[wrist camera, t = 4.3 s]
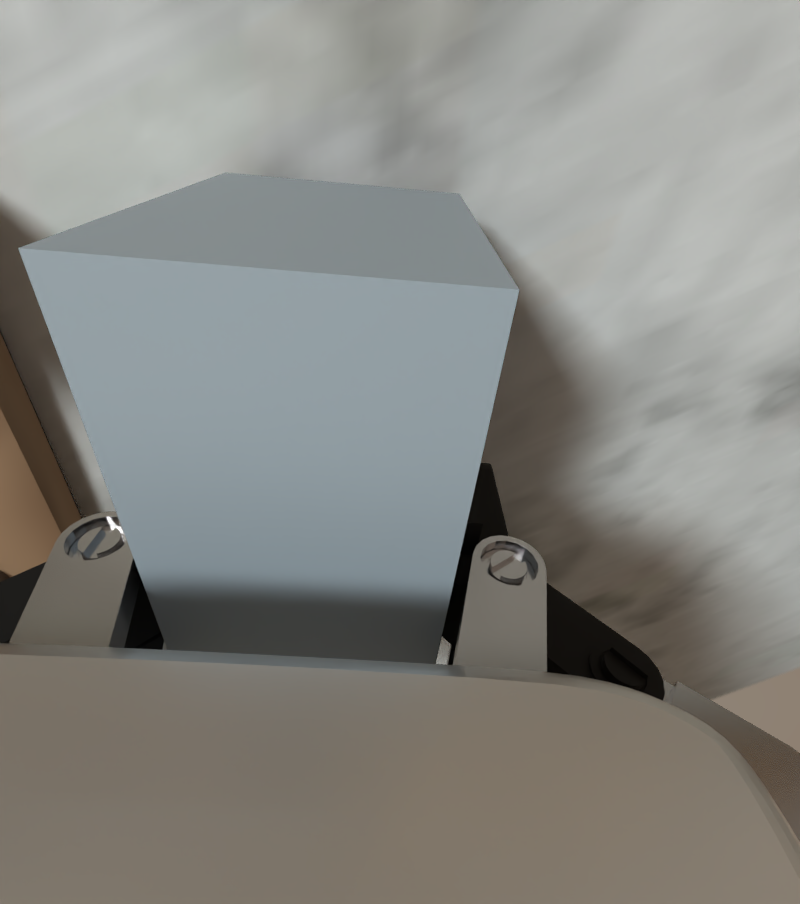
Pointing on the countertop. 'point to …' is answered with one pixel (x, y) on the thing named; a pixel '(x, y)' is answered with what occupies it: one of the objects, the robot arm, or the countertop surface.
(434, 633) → the long grey rectangular block
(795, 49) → the countertop surface
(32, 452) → the peg cradle
